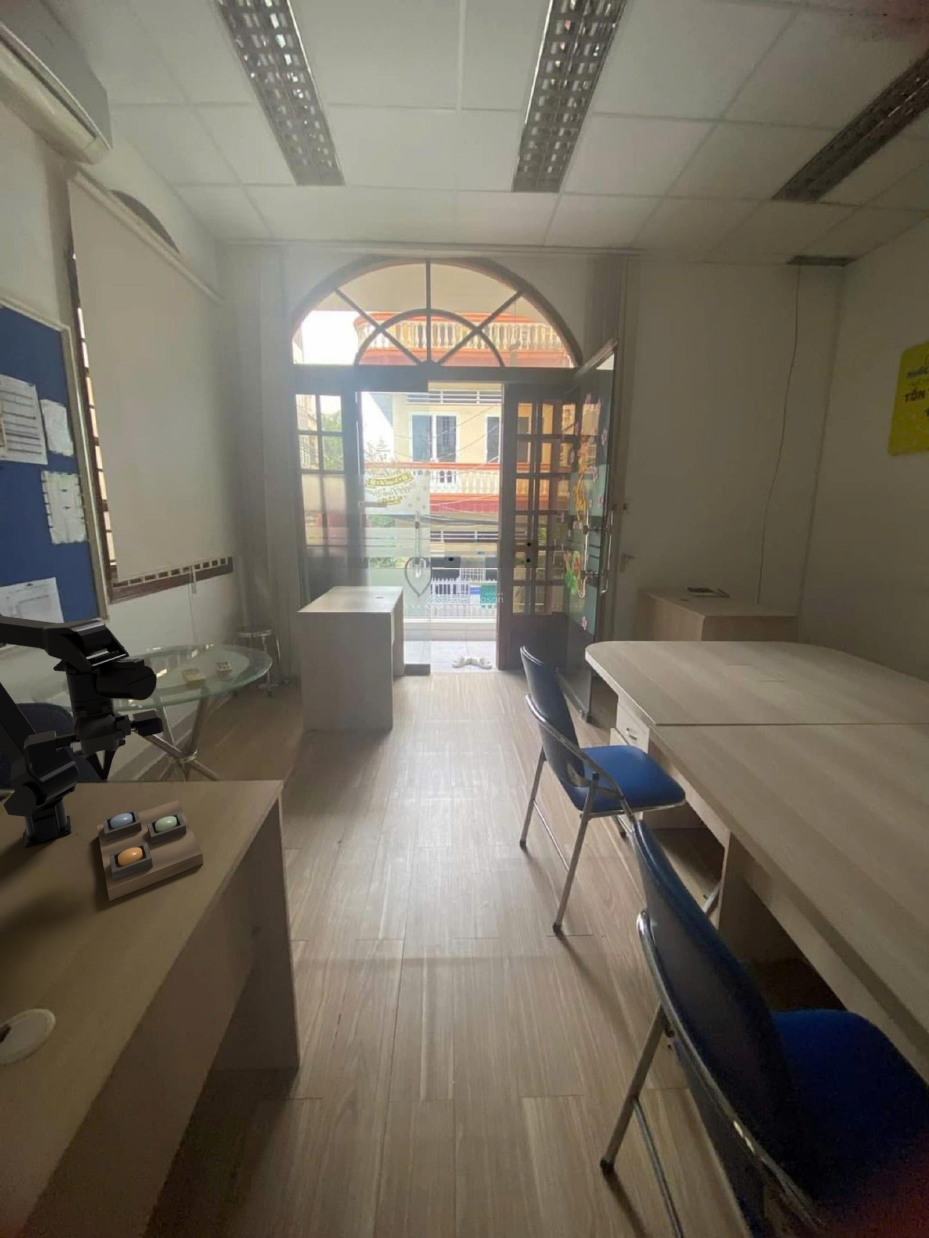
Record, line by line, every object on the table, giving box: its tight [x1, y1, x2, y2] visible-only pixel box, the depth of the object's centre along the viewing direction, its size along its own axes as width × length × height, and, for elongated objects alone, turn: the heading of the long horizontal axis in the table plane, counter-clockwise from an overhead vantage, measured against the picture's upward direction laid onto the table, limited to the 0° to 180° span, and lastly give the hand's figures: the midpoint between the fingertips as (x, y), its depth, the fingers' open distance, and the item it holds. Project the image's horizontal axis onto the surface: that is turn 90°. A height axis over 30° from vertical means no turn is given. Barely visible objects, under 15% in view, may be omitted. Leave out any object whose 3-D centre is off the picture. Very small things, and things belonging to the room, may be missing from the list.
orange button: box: [118, 847, 143, 868], centre depth 79 cm, size 3×3×2 cm
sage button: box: [155, 816, 177, 833], centre depth 87 cm, size 3×3×2 cm
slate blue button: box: [110, 812, 133, 830], centre depth 88 cm, size 3×3×2 cm
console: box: [96, 799, 204, 902], centre depth 85 cm, size 20×13×4 cm, turn 40°
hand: (104, 779), depth 86 cm, fingers closed
